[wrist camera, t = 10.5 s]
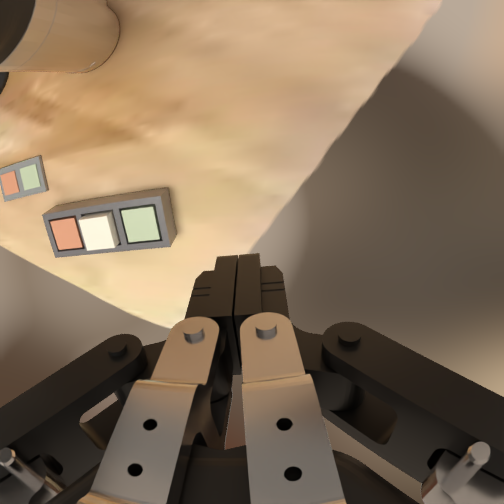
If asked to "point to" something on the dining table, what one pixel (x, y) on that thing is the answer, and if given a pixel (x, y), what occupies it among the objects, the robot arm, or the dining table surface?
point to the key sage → (141, 223)
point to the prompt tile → (23, 179)
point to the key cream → (99, 230)
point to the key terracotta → (67, 232)
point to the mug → (3, 80)
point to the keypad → (116, 220)
